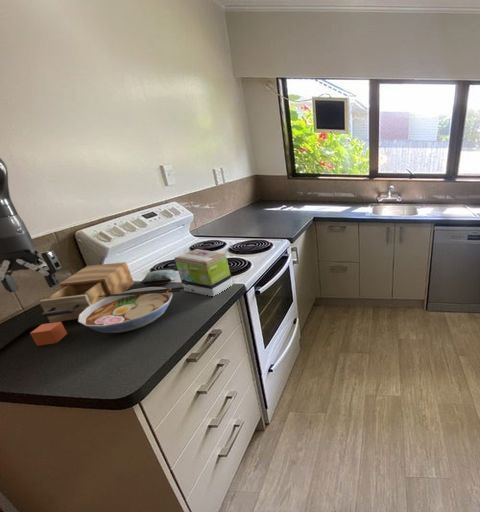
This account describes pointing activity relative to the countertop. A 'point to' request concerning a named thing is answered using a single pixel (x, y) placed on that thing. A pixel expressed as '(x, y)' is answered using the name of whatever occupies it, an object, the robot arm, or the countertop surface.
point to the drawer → (72, 300)
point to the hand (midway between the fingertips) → (34, 288)
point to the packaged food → (159, 277)
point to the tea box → (204, 272)
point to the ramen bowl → (127, 309)
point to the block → (48, 333)
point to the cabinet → (104, 277)
